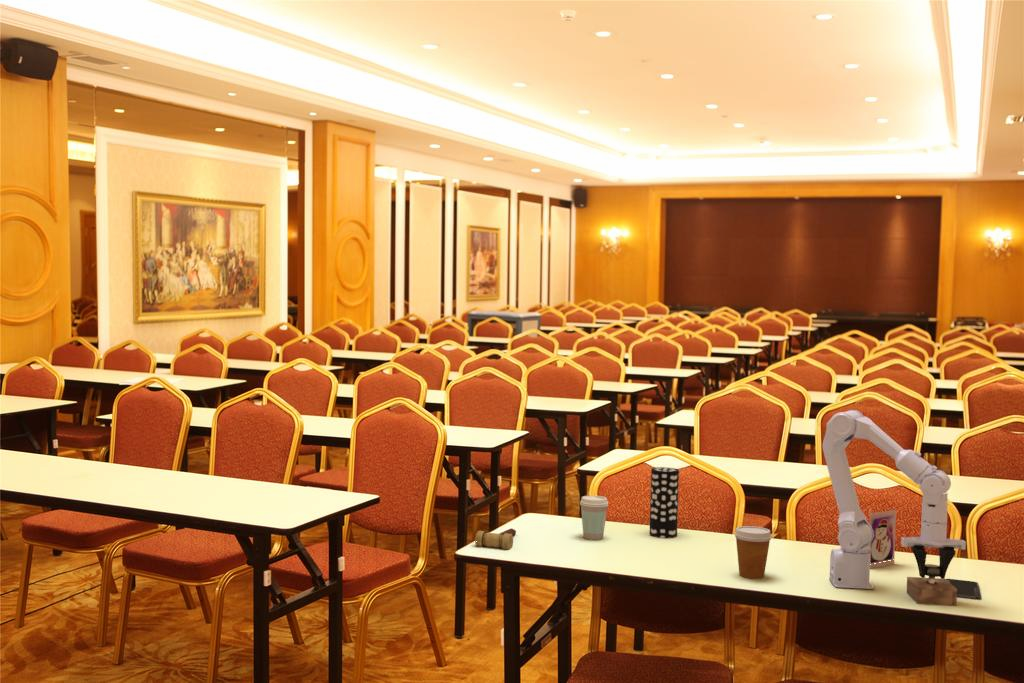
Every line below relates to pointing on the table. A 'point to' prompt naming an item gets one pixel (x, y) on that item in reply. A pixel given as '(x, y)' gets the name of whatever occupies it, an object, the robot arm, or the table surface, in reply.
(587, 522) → the coffee cup
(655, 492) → the white-spotted black cylinder
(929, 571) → the dark round knob
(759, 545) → the disposable coffee cup
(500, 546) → the gavel
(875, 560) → the greeting card
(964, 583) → the phone
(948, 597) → the box
